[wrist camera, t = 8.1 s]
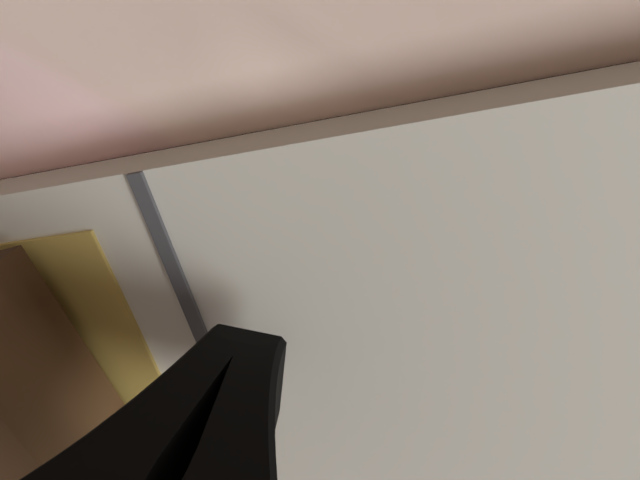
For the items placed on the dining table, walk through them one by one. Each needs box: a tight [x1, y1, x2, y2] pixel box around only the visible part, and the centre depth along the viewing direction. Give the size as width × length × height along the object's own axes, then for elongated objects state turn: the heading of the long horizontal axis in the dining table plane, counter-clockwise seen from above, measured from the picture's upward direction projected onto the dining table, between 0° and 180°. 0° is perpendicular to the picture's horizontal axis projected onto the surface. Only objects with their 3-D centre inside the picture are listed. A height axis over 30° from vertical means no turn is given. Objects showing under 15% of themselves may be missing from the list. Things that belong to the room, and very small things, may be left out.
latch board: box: [0, 61, 640, 480], centre depth 13 cm, size 18×18×1 cm
